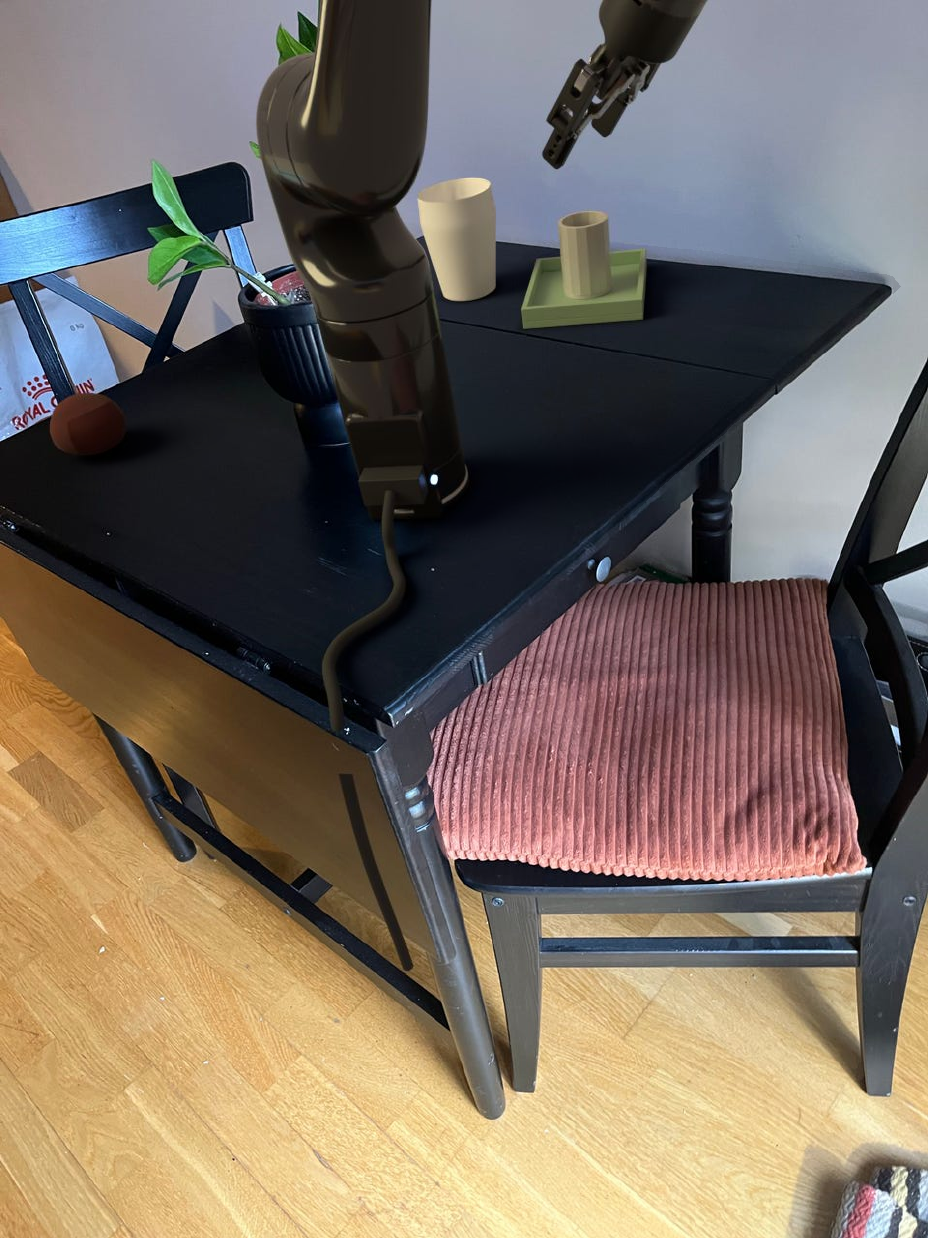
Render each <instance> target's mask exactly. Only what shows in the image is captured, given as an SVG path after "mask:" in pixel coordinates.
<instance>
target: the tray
mask: <svg viewBox="0 0 928 1238" xmlns="http://www.w3.org/2000/svg"><path fill="white" fill-rule="evenodd" d="M610 255H611V275H612V289H611V290H610V292H608V293H607V294H605V295H603V296H600V297H597V298H593V299H584V300H579V299H572V298H569V297H567V296H566V295H565V294H564V288H563V277H562V265H561V256H552V257H541V258H536V260H535V263H534V267H533V269H532V273H531V276H530V278H529V279H530V280H529V283H528V286H527V290H526V292H525V296H524V299H523V301H522V302H523V303H522V305H521V309H520V311H521V319H522V320H521V321H522V328H523V330H525V329H539V328H540V329H541V328H549V327H550V328H551V327H565V326H578V325H590V324H605V323H616V322H628V321H629V322H631V321H640V320H641V321H643V320H644V308H645V295H646V283H647V282H646V281H647V267H648V266H647V265H648V264H647V248H635V249H626V250H625V249H624V250H616V251H615V250H614V251H610Z"/></svg>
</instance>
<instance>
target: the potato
mask: <svg viewBox="0 0 928 1238" xmlns="http://www.w3.org/2000/svg"><path fill="white" fill-rule="evenodd" d="M126 422H127V421H126V417H125V415H124V412H123V410H122V409H121V408H120V406H119V404H117V402H116V401H114V400H112V399H111V398H109V397H108V396H106V395H104V394H99V393H94V392H82V393H77V394H72V395H69V396H67V397H65V398H64V399H63V400H61V401H60V402H58V404H57V405H56V406H55V408H54V409H53V411H52V414H51V417H50V421H49V433H50V437H51V439H52V441H53V442H52V443H53V444H54V445H55V447H56V448H57V449H58V450H60V451H62V452H64V453H67V454H70V455H75V456H84V457H85V456H96V455H99V454H101V453H106V452H109V450H111V449H113V448H114V447H117V445H119V443H121V442H122V440H123V439H124V438H125V436H126V432H127V423H126Z"/></svg>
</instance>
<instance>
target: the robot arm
mask: <svg viewBox="0 0 928 1238" xmlns="http://www.w3.org/2000/svg"><path fill="white" fill-rule="evenodd" d="M432 1H433V0H320V3H319V15H318V25H317V26H318V27H317V33H316V42H315V49H314V52H305V53H302V54H298V55H295V56H292V57H290V58H288V59H286V60H284V61H283V62H282V63H279V65H278V66H277V67H276V68H274V70H273V71H272V72H271V73H270V74H269V76H268V77H267V79H266V81H265V83H264V85H263V87H262V88H261V91H260V95H259V97H258V101H257V106H256V116H255V117H256V118H255V127H256V128H255V130H256V139H257V147H258V151H259V156H260V161H261V164H262V168H263V171H264V175H265V179H266V182H267V186H268V190H269V193H270V195H271V199H272V201H273V202H272V203H273V205H274V209H275V212H276V215H277V219H278V221H279V225H280V228H281V231H282V235H283V238H284V241H285V244H286V247H287V250H288V254H289V256H290V260H291V261H292V264H293V266H294V268H295V270H296V272H297V274H298V276H299V277H300V280H302V283H303V284H304V286H305V288H306V289H307V292H308V295H309V297H310V300H311V304H312V307H313V311H314V315H315V319H316V322H317V326H318V330H319V334H320V336H321V341H322V345H323V349H324V353H325V356H326V361H327V364H328V369H329V372H330V375H331V379H332V383H333V386H334V390H335V394H336V395H335V396H336V398H337V402H338V405H339V409H340V413H341V417H342V420H343V424H344V428H345V432H346V436H347V440H348V443H349V447H350V450H351V454H352V458H353V462H354V465H355V468H356V472H357V477H358V481H357V482H358V486H359V490H360V493H361V497H362V500H363V501H362V502H363V504H364V506H365V507H366V508H367V511H368V515H369V518H370V520H372V521H377V520H381V535H382V542H383V546H384V553H385V559H386V564H387V567H388V571H389V574H390V576H391V579H392V582H393V588H392V590H391V593H390V594H389V596H388V597H387V599H386V601H385V602H383V604H381V605H380V606H379V607H378V608H376V609H374V610H373V611H371V612H369V613H368V614H366V615H365V616H363V617H362V618H360V619H358V620H356V621H355V622H353V623H352V624H350V625H349V626H347V627H346V628H344V629H343V630H342V631H341V632H340V633H339V634H338V635H337V636H336V637H335V638H334V639H333V640H332V641H331V643H330V644H329V645H328V647H327V649H326V651H325V653H324V655H323V658H322V663H321V674H322V675H321V676H322V681H323V685H324V688H325V692H326V697H327V702H328V711H329V719H330V720H329V721H330V728H331V730H332V731H333V732H340V731H342V730H343V729H344V728H345V725H346V724H345V723H346V722H345V713H344V703H343V697H342V692H341V688H340V687H341V686H340V684H339V680H338V676H337V671H336V664H337V661H338V658H339V656H340V655H341V652H342V651H343V650H344V648H345V647H346V645H348V643H350V642H351V641H352V640H354V639H355V638H356V637H357V636H359V635H361V634H362V633H364V632H366V631H368V630H369V629H370V628H372V627H374V626H376V625H377V624H379V623H381V622H382V621H383V620H385V619H386V618H387V617H388V616H390V615H391V614H392V613H393V612H394V611H395V610H396V609H397V608H398V607H399V605H400V604H401V602H402V601H403V598H404V596H405V593H406V587H407V583H406V577H405V574H404V571H403V570H402V567H401V564H400V559H399V556H398V550H397V549H398V548H397V543H396V537H395V529H394V528H395V525H394V521H395V520H408V519H409V520H410V519H438V518H440V517H442V514H443V512H444V510H446V509H447V508H449V507H451V506H452V505H454V504H455V503H457V502H458V501H459V500H460V499H461V498H462V497H463V496H464V495H465V493H466V491H467V490H468V488H469V486H470V485H469V484H470V478H469V472H468V467H467V465H466V462H465V461H466V460H465V456H464V449H463V445H462V439H461V435H460V429H459V423H458V418H457V412H456V406H455V400H454V394H453V389H452V384H451V379H450V372H449V367H448V361H447V356H446V350H445V345H444V339H443V333H442V327H441V321H440V316H439V315H440V314H439V310H438V305H437V299H436V298H437V297H436V292H435V287H434V282H433V275H432V271H431V270H432V269H431V265H430V260H429V258H428V254H427V252H426V251H425V249H424V246H422V244H421V243H420V242H419V241H418V240H417V239H416V237H415V236H414V235H413V234H412V232H411V231H410V230H409V228H408V226H407V225H406V223H405V222H404V220H403V218H402V216H401V214H400V212H399V209H398V208H397V206H398V205H399V204H400V203H401V202H402V201H403V199H404V198H405V197H406V196H408V193H409V191H410V190H411V189H412V187H413V185H414V184H415V181H416V179H417V177H418V174H419V172H420V169H421V166H422V163H423V158H424V156H425V150H426V142H427V134H428V133H427V132H428V123H429V102H430V101H429V99H430V98H429V97H430V70H431V69H430V66H431V62H430V61H431V33H432V32H431V31H432V30H431V29H432ZM708 1H709V0H602V1H601V2H600V6H599V10H598V20H599V24H600V26H601V29H602V32H603V37H604V42H603V43H600V44H599V45H598V46H596V48H595V50H594V51H593V52H592V53H591V55H590V56H589V59H588V63H587V62H586V61H585V60H584V59H583V58H579V59H578V60H577V61H576V62H575V63H574V64H573V67H572V69H571V71H570V73H569V74H568V77H567V78H566V80H565V82H564V84H563V86H562V87H561V90H560V92H559V94H558V95H557V98H556V99H555V102H554V104H553V105H552V108H551V109H550V112H549V113H548V115H547V117H546V120H545V122H546V123H547V124H548V125H550V126H551V127H552V128H553V130H552V131H551V133H550V136H549V137H548V140H547V142H546V144H545V146H544V147H543V150H542V152H541V156H542V158H543V160H545V162H547V163H548V164H549V165H550V166H551V167H552V168H553V169H554V170H559V169H560V168H562V167H564V166H565V163H566V161H567V160H568V158H569V156H570V154H571V153H572V151H573V149H574V147H575V145H576V143H577V141H578V139H579V138H580V136H581V135H582V134H583V132H584V131H585V129H586V128H587V126H588V125H589V124H590V125H591V127H592V128H593V129H594V131H596V132H597V133H598V135H600V136H601V137H603V138H608V137H609V136H611V135H612V134H613V132H614V130H615V129H616V127H617V125H618V123H619V122H620V120H621V118H622V116H623V115H624V113H625V112H626V109H627V107H628V105H631V104H632V103H633V102H634V101H636V100H637V96H638V94H639V92H641V93H644V92H645V91H647V90H648V88H649V87H650V84H651V82H652V80H653V79H654V77H655V75H656V73H657V72H658V70H659V69H660V66H661V65H662V64H664V63H667V62H669V61H671V60H672V59H673V58H675V57H676V55H677V54H678V52H679V50H680V48H681V46H682V45H683V43H684V41H685V40H686V38H687V36H688V35H689V33H690V31H691V30H692V28H693V26H694V24H695V23H696V20H697V19H698V18H699V16H700V14H701V12H702V11H703V9H704V7H705V6H706V4H707V2H708ZM595 97H596V98H597V99H599V100H600V102H598V103H595V102H594V101H593V100H594V98H595ZM570 113H572V115H571V114H570ZM338 778H339V782H340V786H341V791H342V794H343V798H344V802H345V806H346V810H347V814H348V818H349V821H350V824H351V829H352V832H353V835H354V839H355V842H356V847H357V849H358V852H359V856H360V858H361V861H362V864H363V867H364V870H365V873H366V875H367V878H368V881H369V883H370V886H371V889H372V891H373V895H374V897H375V899H376V902H377V904H378V907H379V909H380V912H381V914H382V917H383V919H384V922H385V924H386V927H387V929H388V932H389V934H390V937H391V940H392V943H393V945H394V947H395V951H396V953H397V956H398V958H399V961H400V964H401V967H402V970H403V971H404V972H411V970H413V968H414V963H413V960H412V957H411V954H410V951H409V948H408V946H407V942H406V940H405V937H404V934H403V932H402V928H401V926H400V924H399V921H398V919H397V916H396V913H395V910H394V908H393V905H392V903H391V899H390V898H389V894H388V891H387V890H386V887H385V883H384V880H383V878H382V876H381V872H380V870H379V866H378V865H377V861H376V858H375V855H374V852H373V849H372V845H371V842H370V839H369V835H368V832H367V828H366V824H365V820H364V817H363V816H364V815H363V813H362V808H361V804H360V800H359V797H358V792H357V789H356V783H355V779H354V775H353V773H338Z"/></svg>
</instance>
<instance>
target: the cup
mask: <svg viewBox="0 0 928 1238" xmlns="http://www.w3.org/2000/svg"><path fill="white" fill-rule="evenodd" d="M416 199H417V205H418V214H419V223H420V227H421V231H422V235H423V237H424V240H425V243H426V246H427V249H428V252H429V255H430V259H431V262H432V265H433V268H434V271H435V274H436V277H437V281H438V284H439V287H440V291H441V293H442V296H443V297H444V298H445V299H447V300H449V301H452V302H469V301H474V300H478V299H481V298H484V297H486V296H487V295H489V294H491V293H492V292H493V291H494V290H495V289H496V285H497V284H496V273H497V272H496V267H497V266H496V263H497V261H496V259H497V258H496V255H497V251H496V250H497V249H496V248H497V247H496V245H497V243H496V241H497V239H496V238H497V235H496V234H497V233H496V232H497V231H496V228H497V227H496V226H497V212H496V211H497V210H496V204H495V200H494V194H493V189H492V183H491V182H490V180H488V179H486V178H482V177H461V178H453V179H449V180H444V181H440V182H437V183H434V184H431V185H429V186H426V187H425V188H423V189H422V190H420V191H419V192H418V193H417V195H416Z"/></svg>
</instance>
